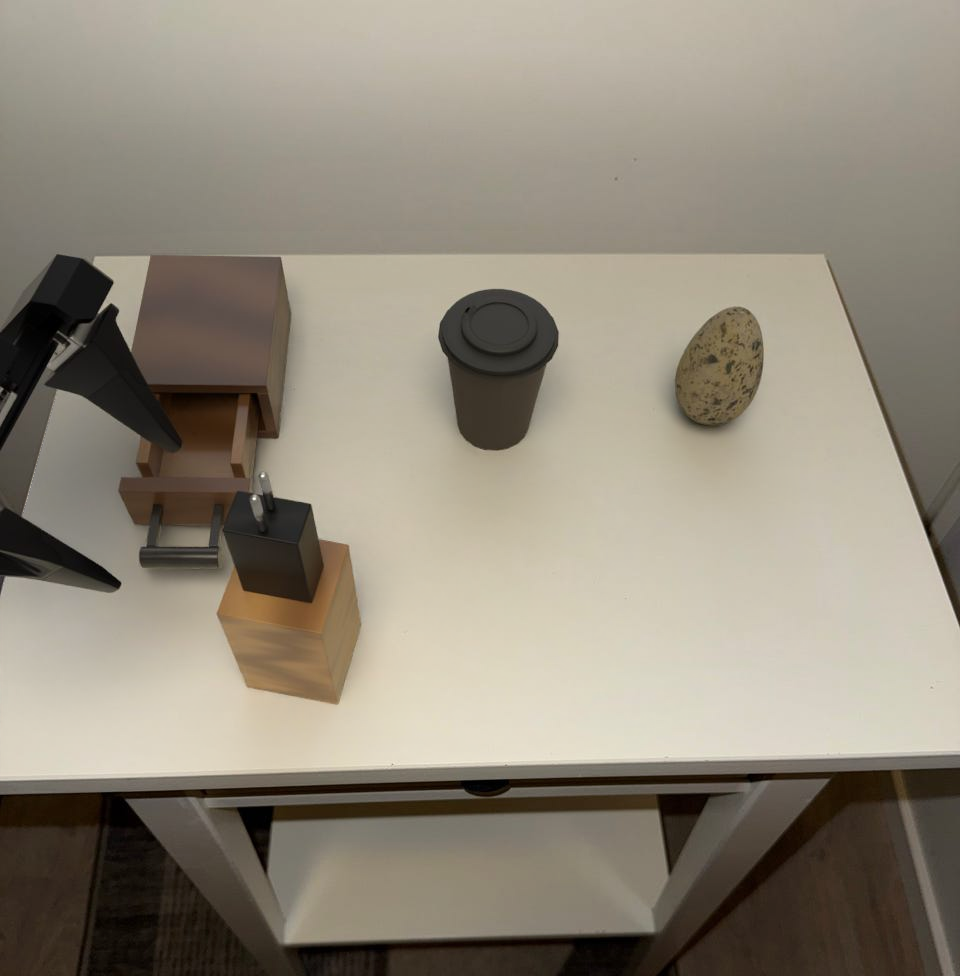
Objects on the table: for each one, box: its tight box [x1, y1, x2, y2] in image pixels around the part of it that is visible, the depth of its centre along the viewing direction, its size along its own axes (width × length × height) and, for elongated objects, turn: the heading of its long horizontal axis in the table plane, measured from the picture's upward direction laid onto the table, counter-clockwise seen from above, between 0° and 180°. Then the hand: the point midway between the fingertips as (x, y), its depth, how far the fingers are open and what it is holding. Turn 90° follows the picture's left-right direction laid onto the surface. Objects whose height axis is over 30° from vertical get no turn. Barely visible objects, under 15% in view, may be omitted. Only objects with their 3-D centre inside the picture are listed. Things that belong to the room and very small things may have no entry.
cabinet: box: [130, 254, 292, 439], centre depth 72 cm, size 13×10×6 cm
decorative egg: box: [674, 306, 765, 427], centre depth 70 cm, size 6×6×10 cm
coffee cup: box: [437, 288, 560, 451], centre depth 69 cm, size 8×8×10 cm
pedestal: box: [216, 538, 362, 705], centre depth 60 cm, size 6×6×10 cm
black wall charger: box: [222, 471, 324, 603], centre depth 52 cm, size 4×3×9 cm, turn 79°
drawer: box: [117, 392, 260, 569], centre depth 67 cm, size 16×8×4 cm, turn 1°
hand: (149, 515), depth 52 cm, fingers open, 9 cm apart
